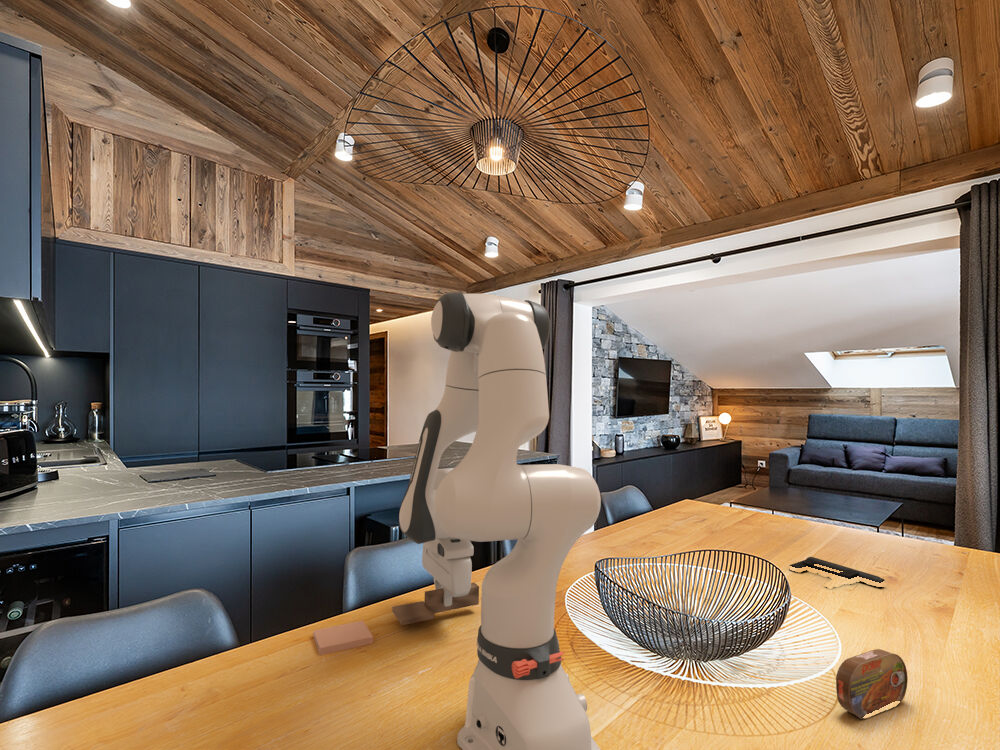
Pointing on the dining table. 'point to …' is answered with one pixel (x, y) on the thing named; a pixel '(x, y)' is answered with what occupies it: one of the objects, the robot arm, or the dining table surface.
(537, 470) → the robot arm
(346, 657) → the dining table surface
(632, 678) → the dining table surface
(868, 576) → the door handle
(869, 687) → the tin
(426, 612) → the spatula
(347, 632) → the tile
